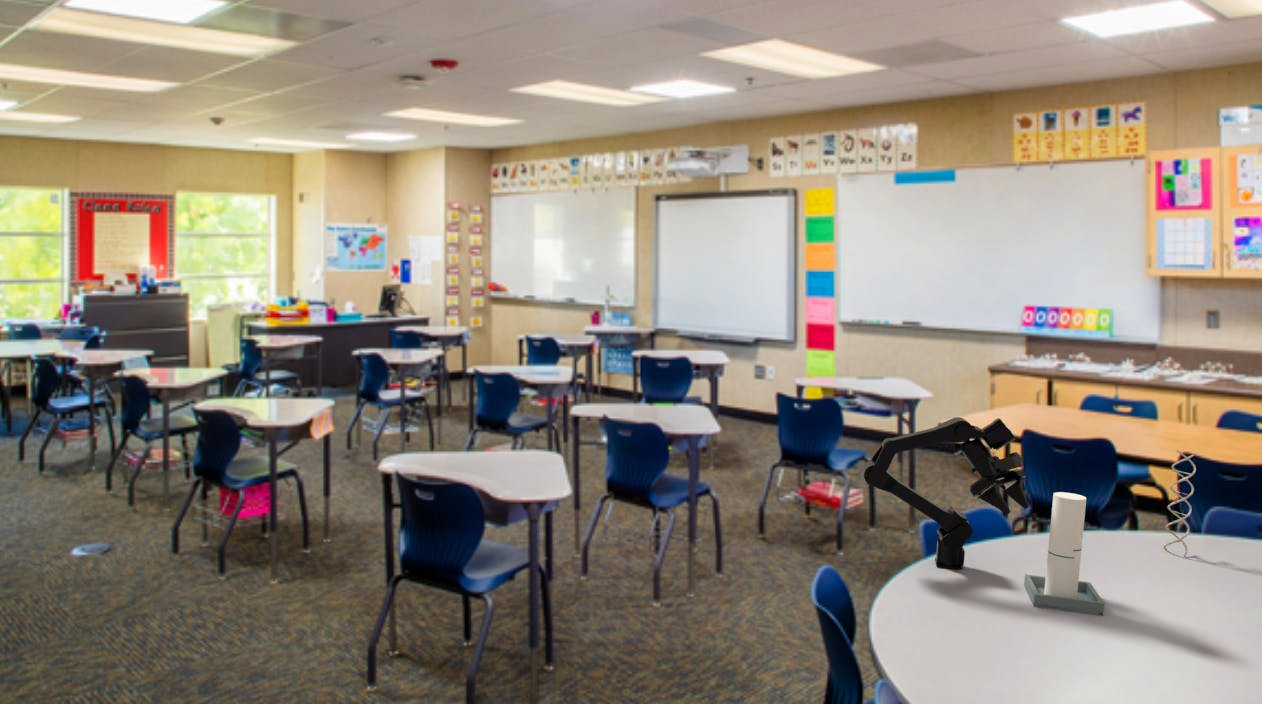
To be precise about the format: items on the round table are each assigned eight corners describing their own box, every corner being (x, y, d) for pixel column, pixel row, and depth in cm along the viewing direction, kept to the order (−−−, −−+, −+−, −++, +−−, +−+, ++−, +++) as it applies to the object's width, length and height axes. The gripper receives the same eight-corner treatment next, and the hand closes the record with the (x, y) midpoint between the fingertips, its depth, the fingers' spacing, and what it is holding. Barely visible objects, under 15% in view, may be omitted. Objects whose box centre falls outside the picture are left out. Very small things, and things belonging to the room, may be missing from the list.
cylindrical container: (1083, 600, 214) (1093, 499, 211) (1059, 603, 211) (1069, 500, 209) (1060, 590, 220) (1070, 491, 218) (1037, 592, 218) (1046, 492, 216)
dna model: (1156, 550, 260) (1166, 449, 257) (1173, 549, 262) (1183, 449, 259) (1176, 557, 254) (1187, 454, 251) (1193, 556, 256) (1204, 454, 253)
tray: (1033, 606, 211) (1034, 594, 210) (1023, 585, 225) (1024, 574, 225) (1103, 615, 207) (1104, 603, 206) (1088, 593, 221) (1090, 582, 221)
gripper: (984, 445, 223) (1023, 498, 215) (1021, 438, 235) (1059, 488, 227) (953, 470, 230) (990, 522, 222) (991, 462, 241) (1027, 511, 234)
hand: (1018, 510), depth 226 cm, fingers open, 9 cm apart
